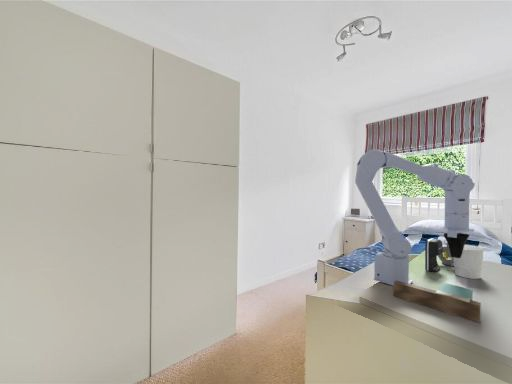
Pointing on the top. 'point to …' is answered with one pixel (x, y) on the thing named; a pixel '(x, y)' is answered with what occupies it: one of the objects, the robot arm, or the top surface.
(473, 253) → the white cup
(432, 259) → the battery charger
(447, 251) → the pocket watch
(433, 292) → the walnut board
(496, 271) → the top surface
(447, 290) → the teal block
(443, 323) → the top surface
